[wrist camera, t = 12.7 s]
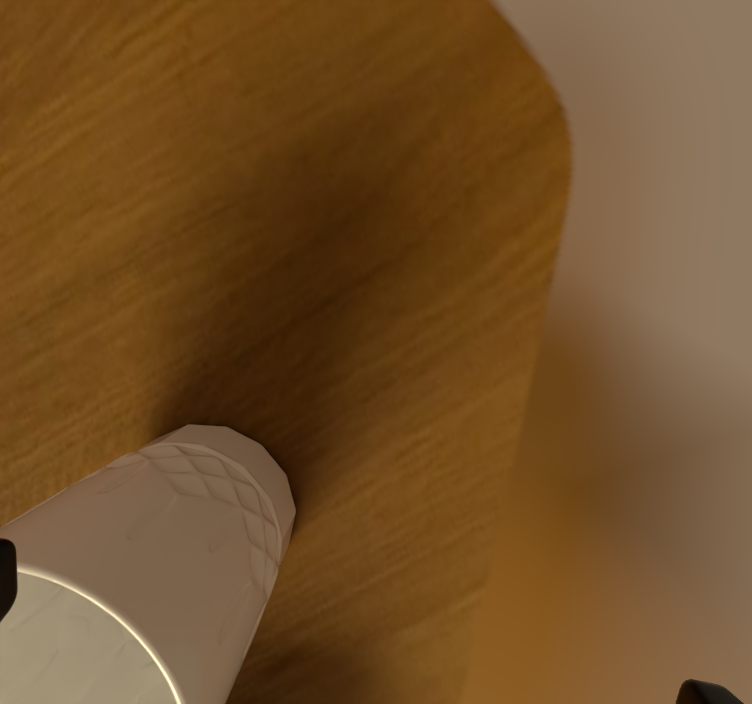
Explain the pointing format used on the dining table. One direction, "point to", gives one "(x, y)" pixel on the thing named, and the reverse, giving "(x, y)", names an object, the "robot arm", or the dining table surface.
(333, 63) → the dining table surface
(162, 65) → the dining table surface
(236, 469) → the white cup
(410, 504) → the dining table surface
